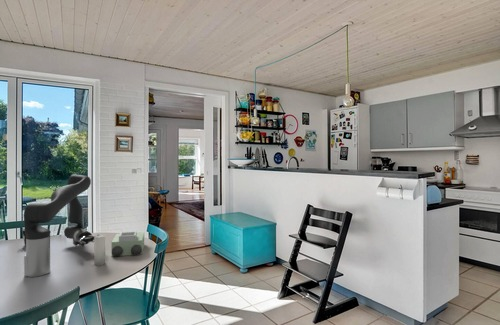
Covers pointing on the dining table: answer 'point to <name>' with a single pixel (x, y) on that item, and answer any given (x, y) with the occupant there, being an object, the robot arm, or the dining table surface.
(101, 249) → the spout tube
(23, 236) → the coffee mug
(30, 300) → the dining table surface
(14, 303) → the dining table surface
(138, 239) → the pale green toy car
